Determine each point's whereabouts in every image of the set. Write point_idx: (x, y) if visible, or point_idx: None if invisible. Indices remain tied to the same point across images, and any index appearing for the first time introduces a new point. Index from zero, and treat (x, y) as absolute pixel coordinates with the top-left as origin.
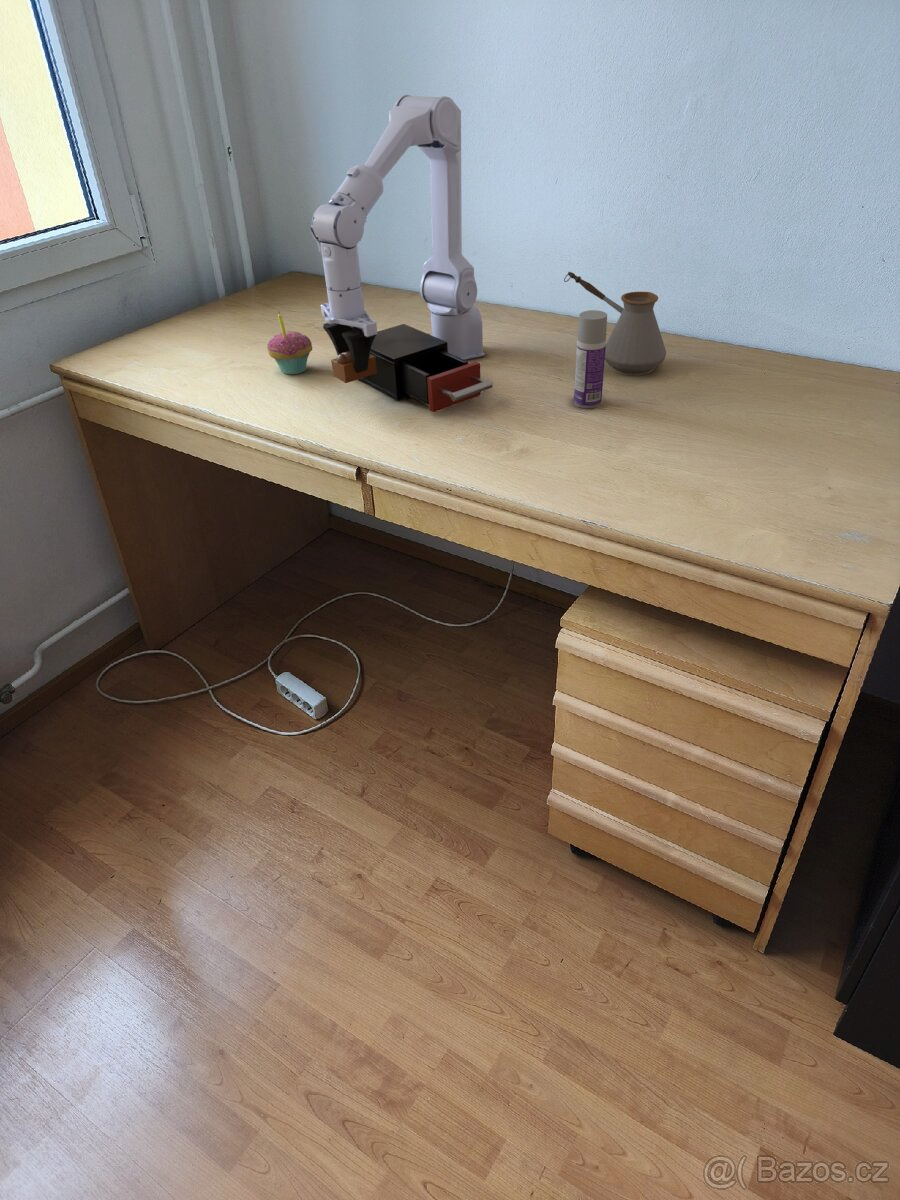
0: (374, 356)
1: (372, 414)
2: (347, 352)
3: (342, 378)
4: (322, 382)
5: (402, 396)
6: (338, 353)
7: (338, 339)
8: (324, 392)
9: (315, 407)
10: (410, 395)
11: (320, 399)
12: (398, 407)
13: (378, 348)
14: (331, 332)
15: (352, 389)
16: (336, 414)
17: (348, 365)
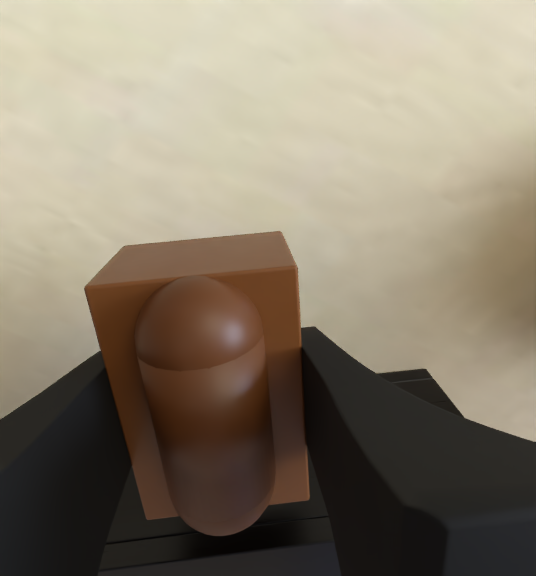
0: (147, 517)
1: (57, 272)
2: (197, 410)
3: (156, 248)
4: (509, 246)
5: None
6: (318, 356)
7: (342, 460)
8: (411, 205)
9: (287, 85)
10: None
11: (355, 153)
12: None
13: (286, 568)
14: (380, 485)
15: (350, 315)
16: (145, 136)
17: (96, 328)
